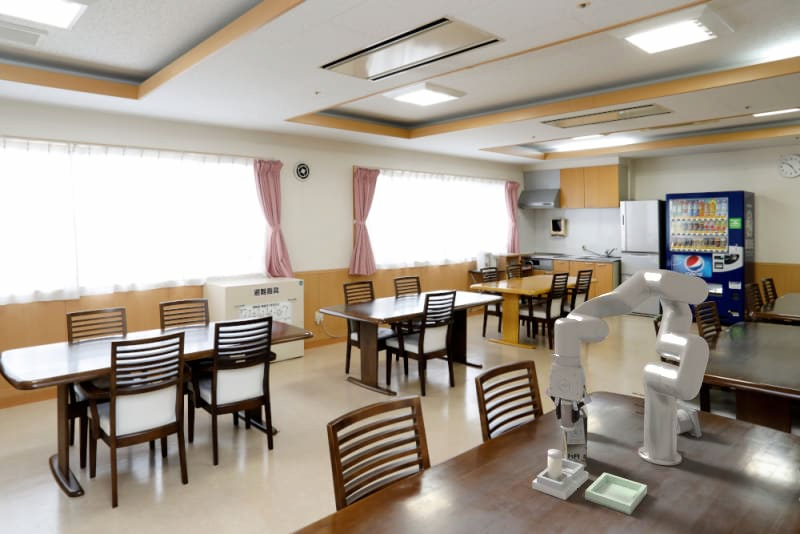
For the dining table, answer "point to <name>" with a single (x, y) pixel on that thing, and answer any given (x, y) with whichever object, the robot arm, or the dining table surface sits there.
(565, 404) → the cylinder
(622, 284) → the robot arm
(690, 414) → the voltmeter
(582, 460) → the coffee box
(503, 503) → the dining table surface
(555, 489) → the fuse block
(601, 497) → the parts tray
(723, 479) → the dining table surface
